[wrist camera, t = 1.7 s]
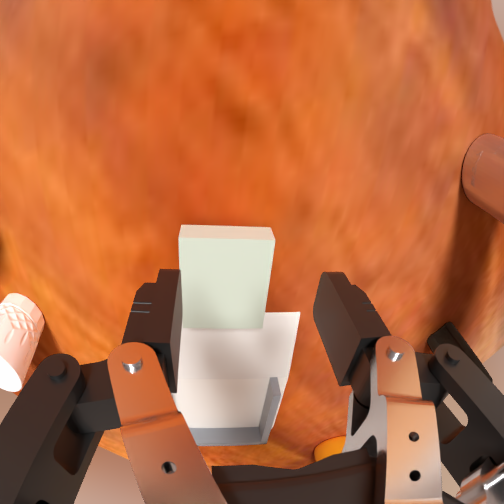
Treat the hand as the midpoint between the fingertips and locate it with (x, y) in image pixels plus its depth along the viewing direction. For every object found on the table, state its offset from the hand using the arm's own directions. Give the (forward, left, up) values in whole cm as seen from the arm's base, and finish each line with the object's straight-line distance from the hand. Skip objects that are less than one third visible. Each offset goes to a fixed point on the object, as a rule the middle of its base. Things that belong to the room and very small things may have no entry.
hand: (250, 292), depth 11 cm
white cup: (+26, +18, -18) cm, 36 cm away
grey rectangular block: (0, +10, -17) cm, 20 cm away
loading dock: (0, +28, -18) cm, 34 cm away
